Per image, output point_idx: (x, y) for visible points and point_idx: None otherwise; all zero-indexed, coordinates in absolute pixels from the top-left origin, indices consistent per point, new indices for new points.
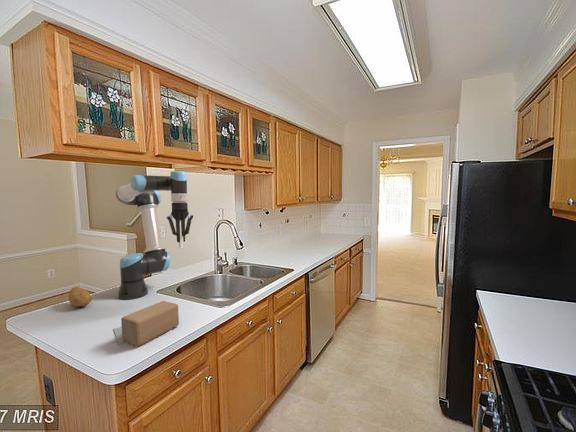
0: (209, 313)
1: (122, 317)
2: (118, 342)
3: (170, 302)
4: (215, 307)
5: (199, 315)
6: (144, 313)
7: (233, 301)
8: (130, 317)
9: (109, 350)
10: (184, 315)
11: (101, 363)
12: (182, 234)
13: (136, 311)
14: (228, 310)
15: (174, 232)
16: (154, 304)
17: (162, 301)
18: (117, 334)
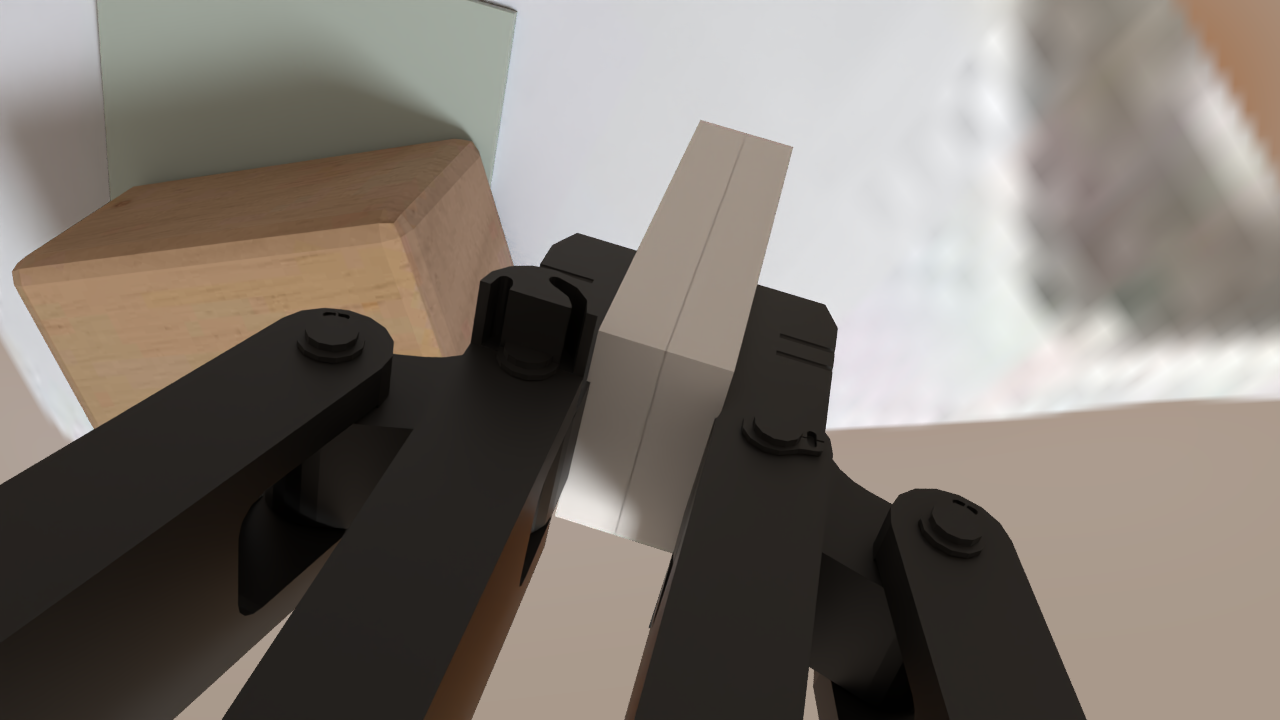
0: (863, 317)
1: (15, 276)
2: (111, 177)
3: (427, 329)
4: (1013, 258)
5: (774, 275)
6: (168, 366)
7: (1272, 298)
8: (65, 345)
9: (62, 216)
10: (682, 156)
11: (25, 319)
12: (680, 533)
13: (119, 271)
14: (1023, 412)
15: (259, 560)
16: (284, 259)
17: (370, 252)
18: (111, 39)
